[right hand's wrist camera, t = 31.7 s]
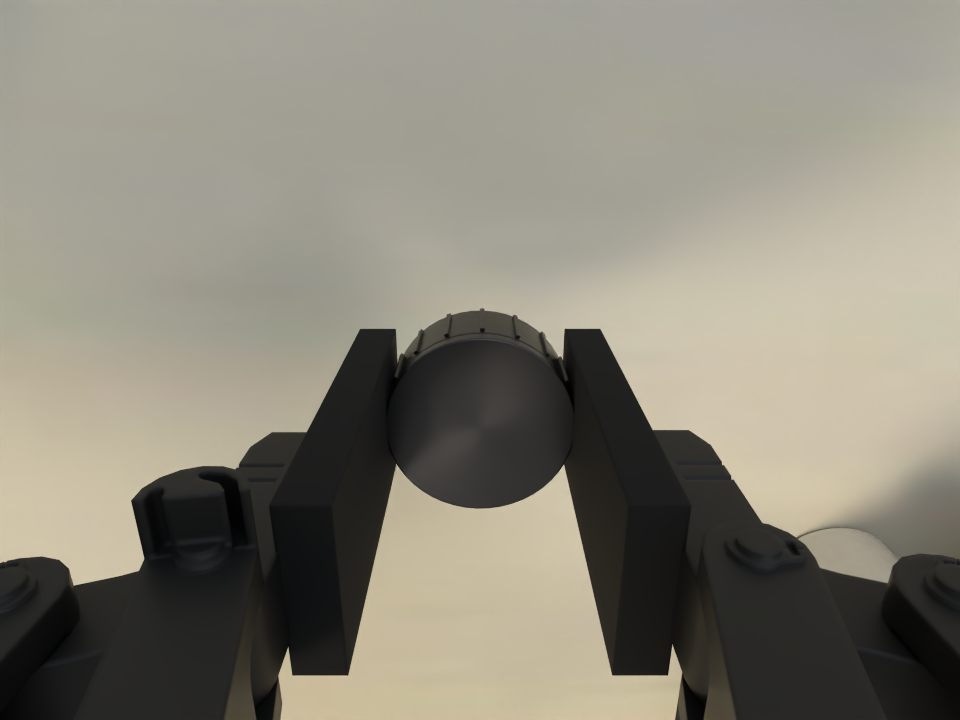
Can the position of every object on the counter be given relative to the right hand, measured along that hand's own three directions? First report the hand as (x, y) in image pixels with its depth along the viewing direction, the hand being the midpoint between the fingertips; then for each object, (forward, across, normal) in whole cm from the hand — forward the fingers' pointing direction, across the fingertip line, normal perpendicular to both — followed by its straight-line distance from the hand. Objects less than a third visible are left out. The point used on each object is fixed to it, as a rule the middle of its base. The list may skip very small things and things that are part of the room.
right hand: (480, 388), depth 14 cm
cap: (-2, 0, 0) cm, 2 cm away
